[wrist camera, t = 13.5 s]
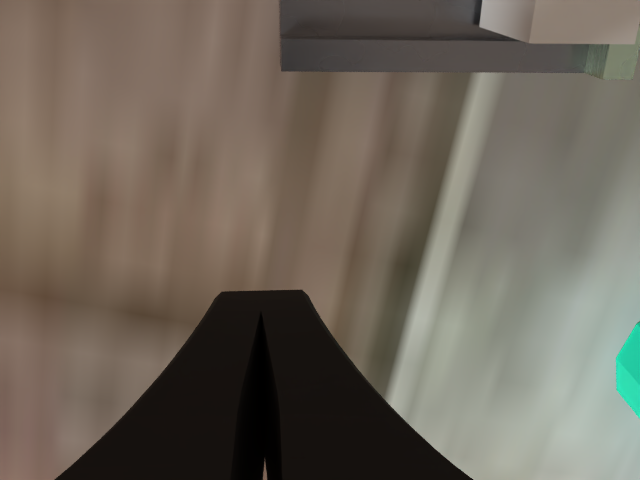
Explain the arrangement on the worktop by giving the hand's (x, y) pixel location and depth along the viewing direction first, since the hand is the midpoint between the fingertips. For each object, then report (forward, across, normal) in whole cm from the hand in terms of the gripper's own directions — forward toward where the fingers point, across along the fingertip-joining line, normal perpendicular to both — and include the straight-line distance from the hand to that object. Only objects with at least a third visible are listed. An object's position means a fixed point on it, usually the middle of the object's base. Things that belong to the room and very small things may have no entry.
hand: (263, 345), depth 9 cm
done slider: (+9, -7, -5) cm, 12 cm away
